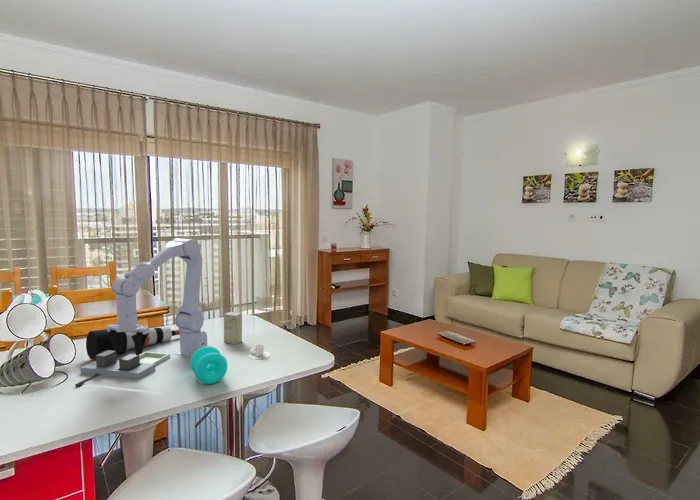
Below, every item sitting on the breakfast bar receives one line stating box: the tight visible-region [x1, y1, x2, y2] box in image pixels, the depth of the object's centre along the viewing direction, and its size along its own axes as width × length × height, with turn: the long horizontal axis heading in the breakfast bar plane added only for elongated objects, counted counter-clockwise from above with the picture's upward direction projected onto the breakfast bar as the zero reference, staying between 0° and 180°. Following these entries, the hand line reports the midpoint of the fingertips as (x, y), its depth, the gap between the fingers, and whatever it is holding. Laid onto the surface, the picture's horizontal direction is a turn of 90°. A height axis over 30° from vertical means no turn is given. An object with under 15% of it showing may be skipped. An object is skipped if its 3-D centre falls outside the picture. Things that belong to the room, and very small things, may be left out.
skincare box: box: [223, 311, 243, 345], centre depth 166 cm, size 6×4×12 cm
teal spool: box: [189, 345, 228, 385], centre depth 130 cm, size 10×10×10 cm
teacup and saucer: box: [248, 344, 271, 360], centre depth 152 cm, size 9×8×4 cm
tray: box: [139, 351, 171, 367], centre depth 144 cm, size 10×10×2 cm
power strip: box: [74, 350, 156, 388], centre depth 131 cm, size 22×16×6 cm
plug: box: [118, 353, 140, 371], centre depth 134 cm, size 4×5×6 cm
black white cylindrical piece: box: [85, 326, 180, 360], centre depth 159 cm, size 10×34×10 cm, turn 140°
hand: (129, 353), depth 134 cm, fingers open, 7 cm apart
